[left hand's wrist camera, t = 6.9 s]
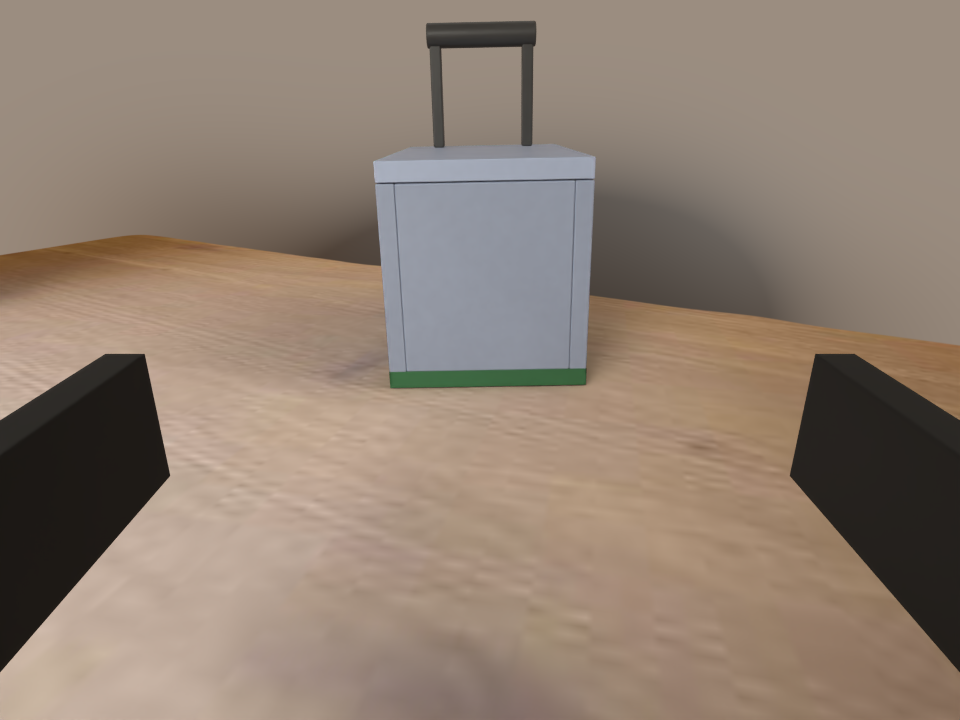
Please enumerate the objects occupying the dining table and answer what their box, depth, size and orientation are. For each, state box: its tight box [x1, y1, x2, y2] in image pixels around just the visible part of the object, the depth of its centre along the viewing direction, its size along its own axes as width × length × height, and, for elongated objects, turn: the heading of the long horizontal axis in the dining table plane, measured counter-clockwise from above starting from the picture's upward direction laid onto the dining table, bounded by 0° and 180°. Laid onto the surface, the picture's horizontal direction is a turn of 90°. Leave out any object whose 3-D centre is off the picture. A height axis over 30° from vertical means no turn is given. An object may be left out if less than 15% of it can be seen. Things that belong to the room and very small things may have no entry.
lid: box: [373, 21, 596, 183], centre depth 35 cm, size 16×10×8 cm, turn 0°
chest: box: [375, 179, 595, 388], centre depth 38 cm, size 16×10×10 cm, turn 0°
